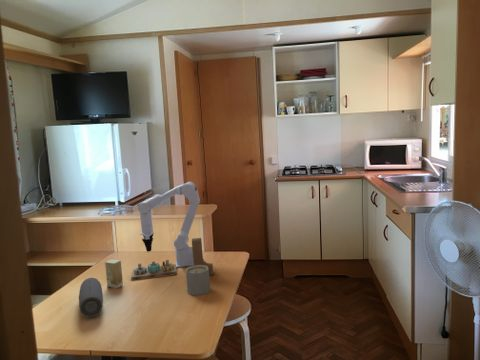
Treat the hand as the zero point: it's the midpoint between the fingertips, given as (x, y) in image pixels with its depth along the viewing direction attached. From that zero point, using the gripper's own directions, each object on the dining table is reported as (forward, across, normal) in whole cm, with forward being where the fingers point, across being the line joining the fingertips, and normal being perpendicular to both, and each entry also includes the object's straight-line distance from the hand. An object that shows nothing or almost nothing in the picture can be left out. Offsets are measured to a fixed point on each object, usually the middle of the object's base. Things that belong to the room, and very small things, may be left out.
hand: (149, 249), depth 213 cm
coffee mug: (+10, +40, +22) cm, 47 cm away
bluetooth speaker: (+10, +44, -23) cm, 51 cm away
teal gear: (+8, +12, +2) cm, 14 cm away
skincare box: (+10, +22, -16) cm, 29 cm away
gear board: (+9, +12, +2) cm, 15 cm away
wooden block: (+10, +23, +26) cm, 36 cm away
